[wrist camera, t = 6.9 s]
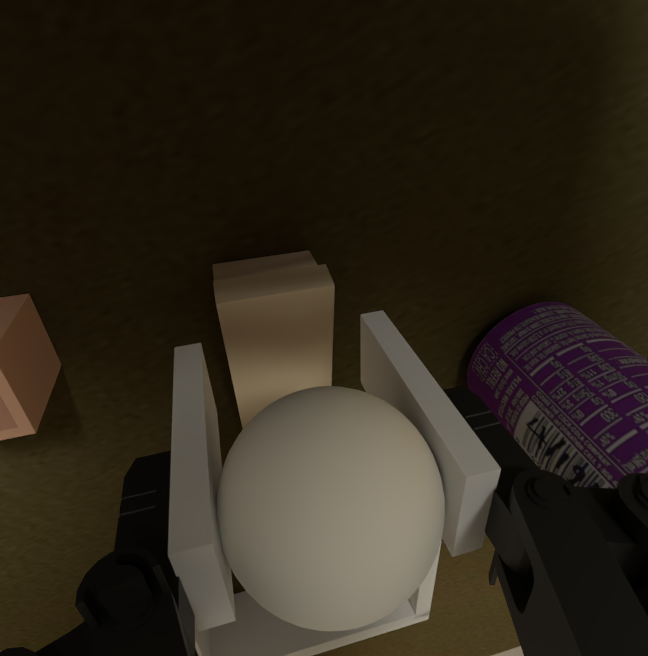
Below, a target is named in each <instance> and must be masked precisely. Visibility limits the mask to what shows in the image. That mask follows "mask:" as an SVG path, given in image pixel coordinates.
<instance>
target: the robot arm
mask: <svg viewBox="0 0 648 656" xmlns="http://www.w3.org/2000/svg"><path fill="white" fill-rule="evenodd" d="M360 342H361V383H362V385H363V387H364V389H365V391H366V393H369V394H371V395H374V396H376V397H378V398H380V399H382V400H384V401H386V402H387V403H388V404H390V405H391V406H393V407H394V408H396V409H397V410H398V411H400V412H401V413H402V414H403V415H404V416H405V417H406V418H407V419H408V420H409V421H410V422H411V423H412V424H413V425H414V426H415V427H416V428H417V430H418V431H419V432H420V434H421V435H422V437H423V438H424V440H425V441H426V443H427V444H428V446H429V448H430V450H431V452H432V454H433V456H434V458H435V461H436V464H437V466H438V469H439V473H440V476H441V480H442V486H443V492H444V498H445V519H444V528H443V535H442V539H443V540H444V542H445V544H446V546H447V548H448V550H449V552H450V554H451V556H452V557H454V556H457V555H461V554H464V553H467V552H471V551H474V550H478V549H481V548H482V546H483V542H484V538H485V534H487V536H488V538H489V539H490V541H491V542H492V544H493V546H494V547H495V553H494V556H493V560H492V564H491V568H490V571H489V583H490V585H495V582H496V578H497V575H498V578H499V581H500V584H501V587H502V590H503V593H504V596H505V599H506V602H507V605H508V608H509V611H510V614H511V617H512V620H513V623H514V626H515V630H516V633H517V636H518V639H519V642H520V645H521V648H522V650H523V654H524V656H648V474H645V473H630V474H627V475H626V476H624V477H622V478H621V479H620V481H619V483H618V485H617V488H616V489H614V488H592V487H579V486H572V484H571V483H569V482H568V481H567V480H565V479H564V478H562V477H561V476H560V475H557V474H555V473H552V472H549V471H547V470H541V469H540V468H539V467H538V466H537V465H536V464H535V463H534V461H533V460H532V459H531V458H530V457H529V456H528V454H527V453H526V452H525V451H524V450H523V448H522V447H521V446H520V445H519V444H518V442H517V441H516V440H515V439H514V438H513V436H512V435H511V434H510V433H509V432H508V430H507V429H506V428H505V427H504V426H503V424H500V421H499V420H498V418H497V417H496V416H495V415H494V414H493V413H491V410H490V409H489V408H488V406H487V405H486V404H485V403H484V402H483V401H482V399H481V398H480V397H479V396H478V395H476V394H474V393H473V392H471V391H470V390H468V389H466V388H465V387H463V386H460V387H455V388H450V389H446V390H442V389H441V387H440V386H439V385H438V383H437V382H436V381H435V379H434V378H433V377H432V375H431V374H430V373H429V371H428V370H427V369H426V367H425V366H424V364H423V363H422V362H421V360H420V359H419V358H418V356H417V355H416V354H415V352H414V351H413V350H412V348H411V347H410V346H409V344H408V343H407V342H406V340H405V339H404V338H403V336H402V335H401V334H400V332H399V331H398V330H397V328H396V327H395V326H394V324H393V323H392V322H391V320H390V319H389V318H388V316H387V315H386V314H385V312H384V311H383V310H382V311H376V312H371V313H365V314H360ZM221 471H222V462H221V450H220V439H219V428H218V417H217V409H216V405H215V401H214V396H213V392H212V388H211V384H210V379H209V375H208V371H207V367H206V362H205V358H204V354H203V349H202V345H201V343H196V344H190V345H185V346H179V347H174V376H173V407H172V439H171V451H167V452H163V453H158V454H154V455H149V456H145V457H140V458H136V459H135V461H134V462H133V464H132V466H131V467H130V469H129V471H128V472H127V474H126V476H125V477H124V484H123V491H122V501H121V506H120V517H119V520H118V527H117V535H116V542H115V549H114V551H113V552H111V553H110V554H108V555H107V556H105V557H103V558H102V559H100V560H99V561H97V563H96V564H95V565H94V566H93V567H92V568H91V569H90V570H89V571H88V572H87V573H86V574H85V576H84V578H83V580H82V582H81V584H80V586H79V588H78V590H77V596H76V603H75V606H76V607H77V609H78V611H79V612H80V614H81V615H82V617H83V618H84V620H85V621H84V622H83V623H82V624H80V625H79V626H77V627H76V628H75V629H73V630H72V631H70V632H69V633H67V634H65V635H64V636H62V637H60V638H59V639H57V640H55V641H54V642H52V643H50V644H49V645H47V646H45V647H44V648H42V649H40V650H39V651H37V652H33V651H31V650H29V649H26V648H24V647H18V648H8V649H5V650H3V651H1V652H0V656H199V655H198V653H197V650H196V648H195V624H196V626H197V629H198V631H203V630H206V629H209V628H213V627H216V626H219V625H223V624H226V623H230V622H233V621H236V618H235V606H234V595H233V584H232V573H231V567H230V565H229V563H228V561H227V559H226V557H225V554H224V551H223V548H222V543H221V539H220V534H219V528H218V519H217V510H216V502H217V489H218V484H219V479H220V475H221Z"/></svg>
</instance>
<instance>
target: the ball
mask: <svg viewBox="0 0 648 656" xmlns="http://www.w3.org/2000/svg"><path fill="white" fill-rule="evenodd" d="M216 510H217V519H218V528H219V534H220V539H221V543H222V548H223V551H224V554H225V557H226V559H227V561H228V563H229V565H230V567H231V569H232V571H233V573H234V575H235V576H236V578H237V579H238V581H239V582H240V583H241V585H242V586H243V587H244V589H245V590H246V592H247V593H248V594H249V595H250V596H251V597H252V598H253V599H254V600H255V601H256V602H257V603H259V604H260V605H261V606H262V607H263V608H265V609H266V610H267V611H269V612H270V613H272V614H273V615H275V616H277V617H278V618H280V619H282V620H284V621H287V622H289V623H291V624H294V625H296V626H299V627H303V628H307V629H312V630H318V631H343V630H351V629H356V628H360V627H363V626H366V625H369V624H371V623H374V622H376V621H378V620H380V619H382V618H384V617H386V616H387V615H389V614H390V613H392V612H393V611H394V610H396V609H397V608H398V607H400V606H401V605H402V604H403V603H405V602H406V601H407V600H408V599H409V598H410V597H411V596H412V595H413V594H414V592H415V591H416V590H417V588H418V587H419V586H420V585H421V583H422V582H423V581H424V579H425V578H426V576H427V574H428V572H429V570H430V568H431V567H432V565H433V563H434V560H435V558H436V556H437V553H438V549H439V546H440V543H441V539H442V535H443V528H444V519H445V498H444V492H443V486H442V480H441V476H440V473H439V469H438V466H437V464H436V461H435V458H434V456H433V454H432V452H431V450H430V448H429V446H428V444H427V443H426V441H425V440H424V438H423V437H422V435H421V434H420V432H419V431H418V430H417V428H416V427H415V426H414V425H413V424H412V423H411V422H410V421H409V420H408V419H407V418H406V417H405V416H404V415H403V414H402V413H401V412H400V411H398V410H397V409H396V408H394V407H393V406H391V405H390V404H388V403H387V402H386V401H384V400H382V399H380V398H378V397H376V396H374V395H371V394H369V393H366V392H363V391H360V390H357V389H351V388H346V387H339V386H320V387H314V388H308V389H304V390H300V391H297V392H294V393H291V394H289V395H286V396H284V397H282V398H280V399H278V400H276V401H275V402H273V403H271V404H270V405H268V406H267V407H265V408H264V409H263V410H262V411H260V412H259V413H258V414H257V415H256V416H255V417H254V418H253V419H252V420H251V421H250V422H249V423H248V424H247V425H246V426H245V427H244V429H243V430H242V431H241V432H240V434H239V435H238V437H237V439H236V440H235V442H234V444H233V445H232V447H231V449H230V450H229V453H228V455H227V457H226V460H225V462H224V465H223V468H222V471H221V475H220V479H219V484H218V489H217V502H216Z"/></svg>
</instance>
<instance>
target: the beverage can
mask: <svg viewBox="0 0 648 656" xmlns="http://www.w3.org/2000/svg"><path fill="white" fill-rule="evenodd" d="M467 384H468V389H469V390H470V391H471V392H473V393H474V394H476V395H478V396H479V397H480V398H481V399H482V401H483V402H484V403H485V404H486V405H487V406H488V408H489V409H490V410H491V413H493V414H494V415H495V416H496V417H497V418H498V420H499V421H500V424H503V426H504V427H505V428H506V429H507V430H508V432H509V433H510V434H511V435H512V436H513V438H514V439H515V440H516V441H517V442H518V444H519V445H520V446H521V447H522V448H523V450H524V451H525V452H526V453H527V454H528V456H529V457H530V458H531V459H532V460H533V461H534V463H535V464H536V465H537V466H538V467H539V468H540V469H541V470H547V471H549V472H552V473H555V474H557V475H560V476H561V477H562V478H564V479H565V480H567V481H568V482H569V483H571V484H572V486H579V487H592V488H614V489H616V488H617V485H618V483H619V481H620V479H621V478H622V477H624V476H626V475H627V474H630V473H645V474H648V359H646V358H645V357H643V356H642V355H641V354H639V353H638V352H636V351H635V350H633V349H632V348H631V347H629V346H628V345H626V344H625V343H623V342H622V341H621V340H619V339H618V338H616V337H615V336H613V335H612V334H611V333H609V332H608V331H606V330H605V329H603V328H602V327H601V326H599V325H598V324H596V323H595V322H594V321H592V320H591V319H589V318H588V317H586V316H585V315H584V314H582V313H581V312H579V311H578V310H576V309H575V308H574V307H572V306H570V305H568V304H565V303H561V302H542V303H537V304H533V305H530V306H527V307H525V308H522V309H520V310H518V311H516V312H514V313H513V314H511V315H509V316H508V317H506V318H505V319H503V320H502V321H501V322H499V323H498V324H497V325H496V326H495V327H494V328H493V329H492V330H491V331H490V332H489V333H488V334H487V335H486V336H485V337H484V338H483V340H482V341H481V342H480V344H479V345H478V347H477V348H476V350H475V352H474V354H473V356H472V358H471V361H470V364H469V367H468V372H467Z"/></svg>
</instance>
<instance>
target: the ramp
mask: <svg viewBox="0 0 648 656" xmlns="http://www.w3.org/2000/svg"><path fill="white" fill-rule="evenodd" d="M212 267H213V276H214V281H213V287H214V294H215V301H216V307H217V312H218V316H219V321H220V326H221V330H222V335H223V340H224V344H225V349H226V354H227V358H228V363H229V368H230V372H231V377H232V382H233V386H234V391H235V396H236V401H237V405H238V410H239V415H240V419H241V424H242V429H244V427H245V426H246V425H247V424H248V423H249V422H250V421H251V420H252V419H253V418H254V417H255V416H256V415H257V414H258V413H259V412H260V411H262V410H263V409H264V408H265V407H267V406H268V405H270V404H271V403H273V402H275V401H276V400H278V399H280V398H282V397H284V396H286V395H289V394H291V393H294V392H297V391H300V390H304V389H308V388H314V387H320V386H331V385H332V355H333V324H334V293H335V284H334V282H333V280H332V277H331V275H330V273H329V270H328V268H327V266H326V264H323V265H317V263H316V261H315V260H314V258H313V256H312V254H311V253H310V251H309V250H308V251H301V252H294V253H288V254H281V255H274V256H267V257H260V258H253V259H246V260H239V261H232V262H225V263H218V264H212Z"/></svg>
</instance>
